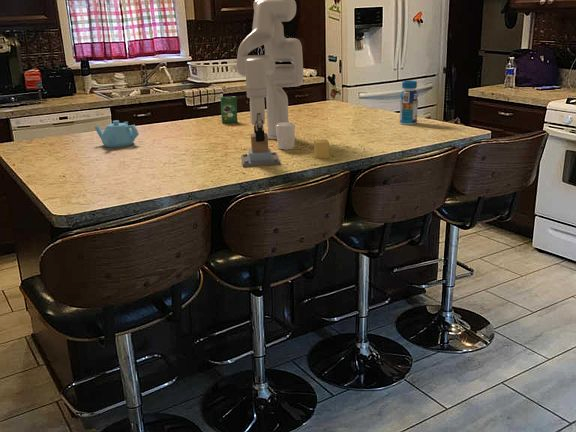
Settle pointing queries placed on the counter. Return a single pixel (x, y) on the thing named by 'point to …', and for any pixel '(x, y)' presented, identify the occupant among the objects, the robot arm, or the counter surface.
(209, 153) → the counter surface
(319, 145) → the mustard brick
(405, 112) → the blue capped bottle
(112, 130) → the teapot
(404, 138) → the counter surface
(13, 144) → the counter surface
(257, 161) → the build plate
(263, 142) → the walnut brick
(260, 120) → the robot arm
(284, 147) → the white cup
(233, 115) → the coffee box
